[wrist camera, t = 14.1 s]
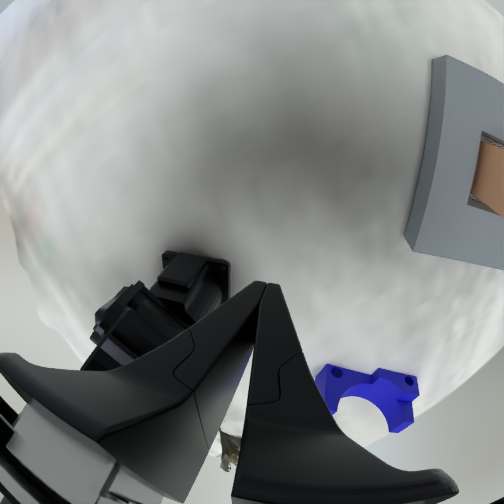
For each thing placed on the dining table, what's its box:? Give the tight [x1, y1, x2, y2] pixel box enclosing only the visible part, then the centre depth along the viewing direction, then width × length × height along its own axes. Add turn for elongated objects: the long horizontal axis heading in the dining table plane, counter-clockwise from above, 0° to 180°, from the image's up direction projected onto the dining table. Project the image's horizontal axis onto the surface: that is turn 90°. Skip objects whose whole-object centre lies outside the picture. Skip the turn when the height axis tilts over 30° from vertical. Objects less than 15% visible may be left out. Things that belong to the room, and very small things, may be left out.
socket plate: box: [404, 55, 504, 270], centre depth 13 cm, size 14×12×2 cm
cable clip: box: [315, 364, 419, 433], centre depth 25 cm, size 12×4×6 cm, turn 75°
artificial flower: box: [217, 429, 240, 472], centre depth 39 cm, size 9×22×10 cm, turn 9°
